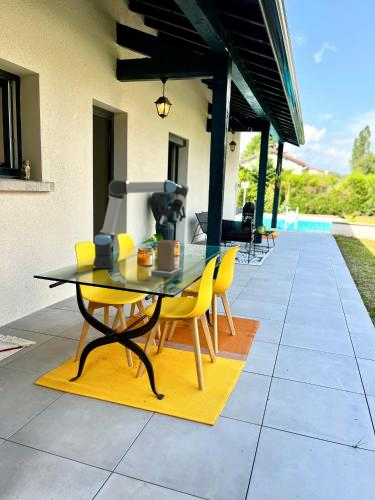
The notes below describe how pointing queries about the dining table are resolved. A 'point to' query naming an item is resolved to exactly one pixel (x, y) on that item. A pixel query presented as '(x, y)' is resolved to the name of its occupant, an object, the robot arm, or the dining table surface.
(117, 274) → the dining table surface
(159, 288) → the dining table surface
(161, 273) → the baseplate
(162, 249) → the block
